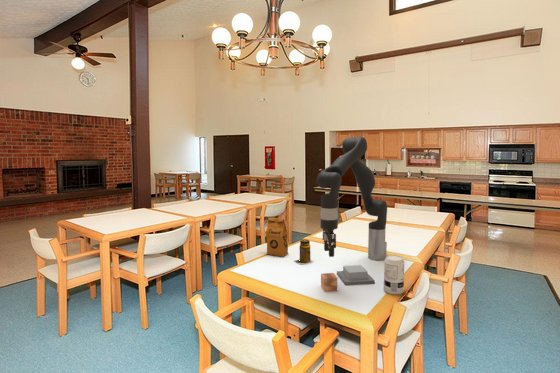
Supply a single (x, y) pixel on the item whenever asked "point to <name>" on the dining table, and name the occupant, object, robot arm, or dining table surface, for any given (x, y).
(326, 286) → the cube
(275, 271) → the dining table surface
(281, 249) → the coffee package
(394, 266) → the supplement can
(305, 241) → the condiment
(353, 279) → the base
